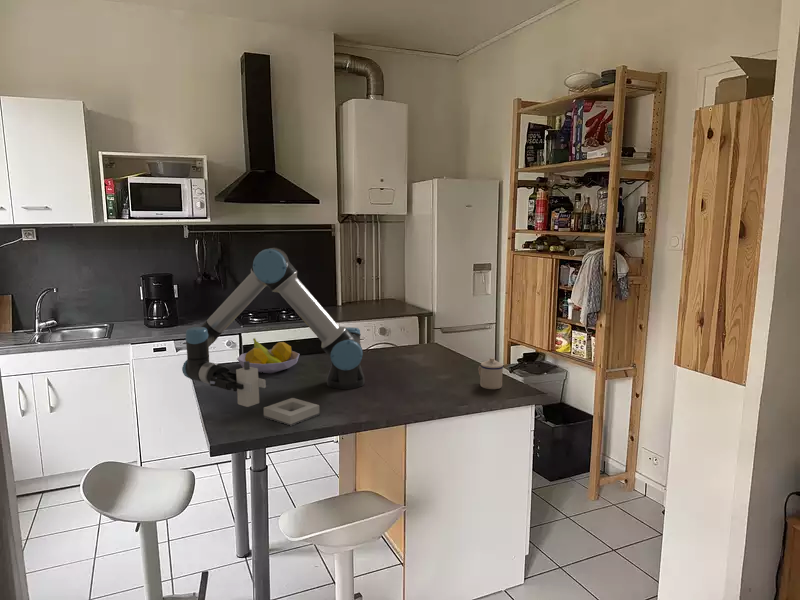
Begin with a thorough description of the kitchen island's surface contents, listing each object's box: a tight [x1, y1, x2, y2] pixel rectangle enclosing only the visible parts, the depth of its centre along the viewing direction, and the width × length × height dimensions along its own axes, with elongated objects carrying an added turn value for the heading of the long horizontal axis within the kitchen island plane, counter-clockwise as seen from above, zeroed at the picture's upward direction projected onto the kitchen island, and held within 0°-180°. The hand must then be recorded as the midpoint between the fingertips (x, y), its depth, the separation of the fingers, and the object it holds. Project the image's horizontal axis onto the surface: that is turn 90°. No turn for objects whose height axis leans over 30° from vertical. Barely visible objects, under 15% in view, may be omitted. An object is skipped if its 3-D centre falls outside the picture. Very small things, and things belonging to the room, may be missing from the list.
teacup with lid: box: [477, 357, 504, 390], centre depth 220 cm, size 12×9×12 cm
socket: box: [263, 397, 320, 427], centre depth 185 cm, size 17×13×4 cm
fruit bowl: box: [236, 337, 300, 374], centre depth 242 cm, size 28×27×11 cm
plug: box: [235, 361, 260, 408], centre depth 184 cm, size 5×5×14 cm
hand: (257, 386), depth 181 cm, fingers closed on plug, 5 cm apart
